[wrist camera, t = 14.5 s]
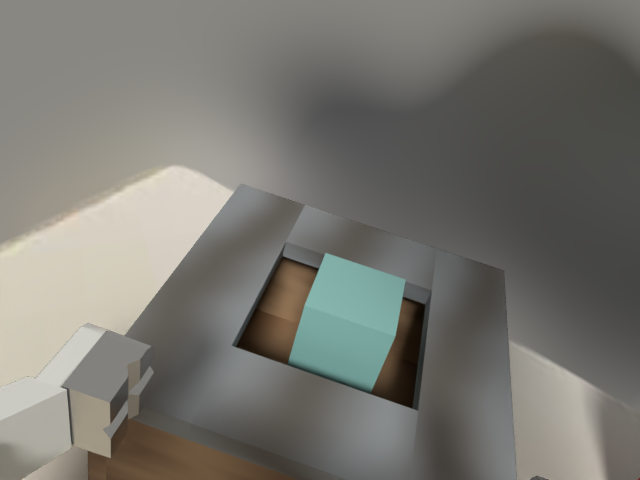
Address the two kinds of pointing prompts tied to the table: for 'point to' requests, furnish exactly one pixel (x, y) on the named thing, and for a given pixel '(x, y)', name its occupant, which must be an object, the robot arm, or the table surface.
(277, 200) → the drop box
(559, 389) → the table surface
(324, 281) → the block
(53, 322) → the table surface
